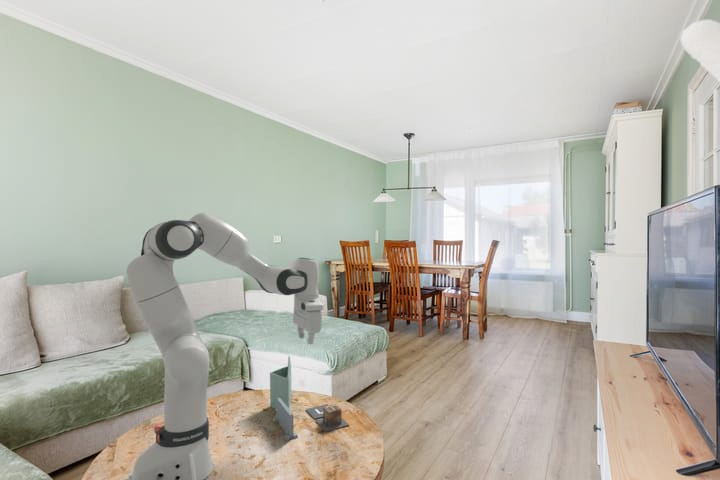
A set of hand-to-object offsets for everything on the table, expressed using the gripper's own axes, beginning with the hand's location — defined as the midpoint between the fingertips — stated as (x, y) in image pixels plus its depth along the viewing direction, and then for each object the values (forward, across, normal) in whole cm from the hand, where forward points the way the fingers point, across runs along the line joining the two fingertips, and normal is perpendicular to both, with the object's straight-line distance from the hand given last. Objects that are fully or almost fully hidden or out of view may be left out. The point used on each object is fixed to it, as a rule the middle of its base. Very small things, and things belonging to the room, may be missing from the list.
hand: (305, 340), depth 135 cm
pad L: (+29, -6, +9) cm, 31 cm away
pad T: (+29, +5, +9) cm, 31 cm away
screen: (+30, 0, -7) cm, 31 cm away
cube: (+29, +5, +9) cm, 31 cm away
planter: (+30, -19, -3) cm, 36 cm away
